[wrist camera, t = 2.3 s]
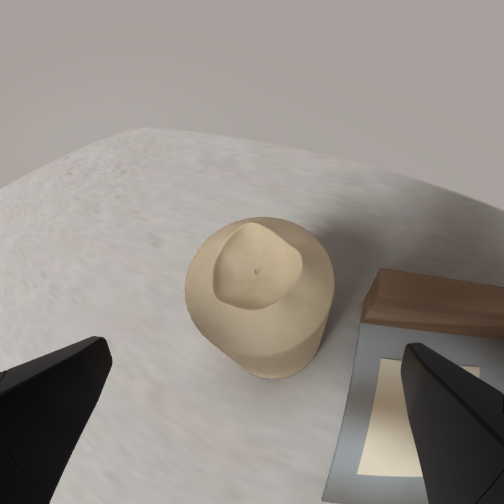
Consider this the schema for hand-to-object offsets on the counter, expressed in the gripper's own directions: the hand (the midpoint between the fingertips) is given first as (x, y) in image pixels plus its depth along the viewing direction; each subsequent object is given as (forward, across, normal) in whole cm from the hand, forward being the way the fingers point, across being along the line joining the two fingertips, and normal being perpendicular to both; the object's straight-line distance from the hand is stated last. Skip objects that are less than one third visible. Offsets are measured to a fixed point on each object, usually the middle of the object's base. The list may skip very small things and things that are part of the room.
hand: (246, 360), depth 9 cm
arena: (+6, -11, +9) cm, 15 cm away
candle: (+10, 0, +5) cm, 11 cm away
